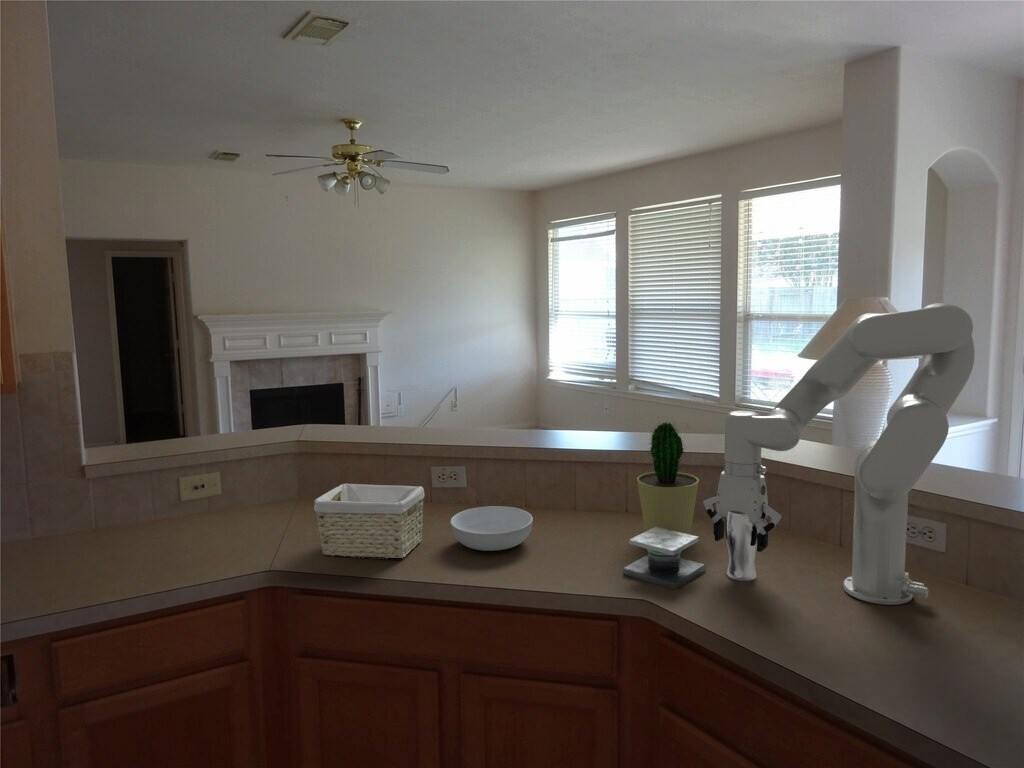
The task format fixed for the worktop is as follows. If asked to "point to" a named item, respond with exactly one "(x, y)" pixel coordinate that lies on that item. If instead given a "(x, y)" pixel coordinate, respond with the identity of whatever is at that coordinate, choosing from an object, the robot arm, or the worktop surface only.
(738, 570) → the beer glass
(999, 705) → the worktop surface
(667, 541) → the metal stand
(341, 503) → the storage basket
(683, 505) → the potted cactus
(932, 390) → the robot arm
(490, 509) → the serving bowl
